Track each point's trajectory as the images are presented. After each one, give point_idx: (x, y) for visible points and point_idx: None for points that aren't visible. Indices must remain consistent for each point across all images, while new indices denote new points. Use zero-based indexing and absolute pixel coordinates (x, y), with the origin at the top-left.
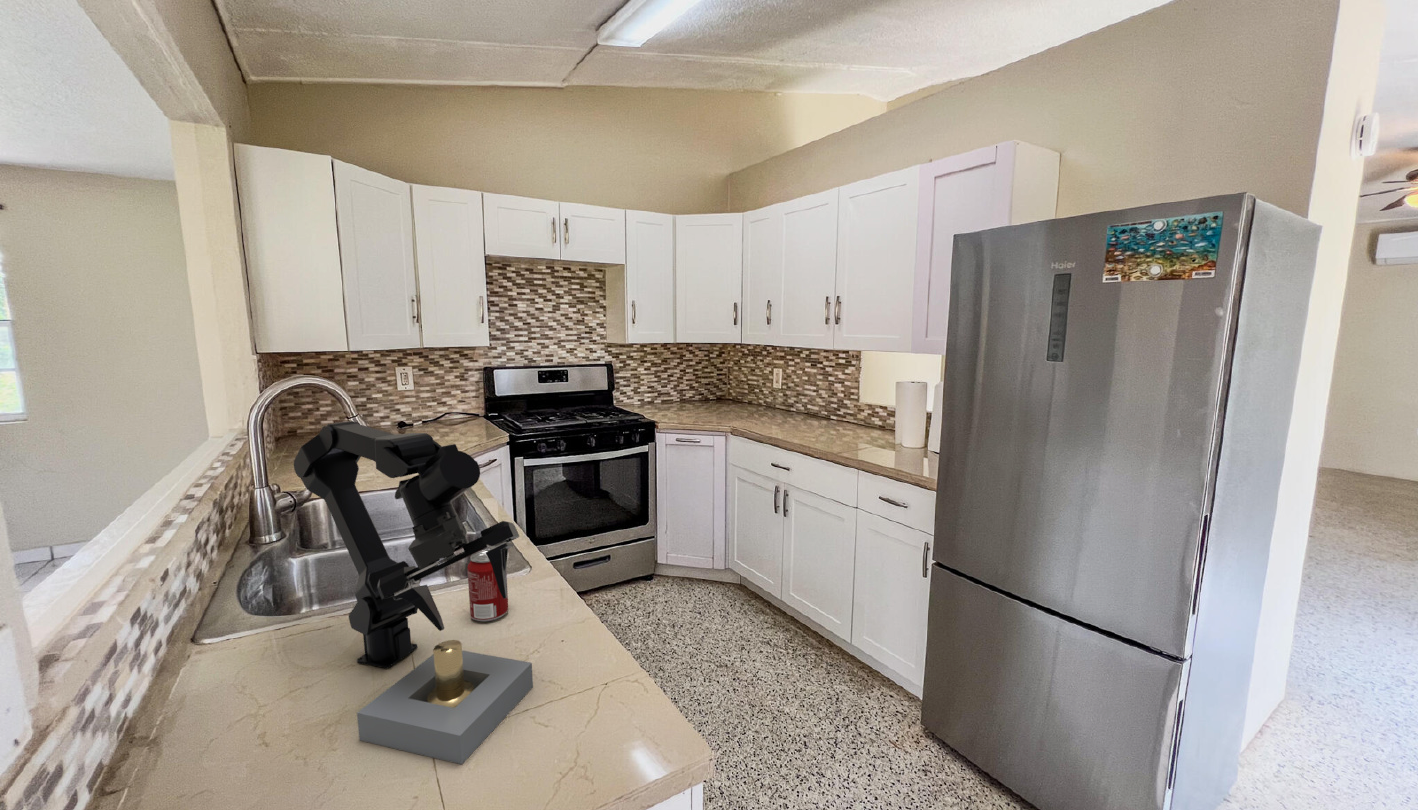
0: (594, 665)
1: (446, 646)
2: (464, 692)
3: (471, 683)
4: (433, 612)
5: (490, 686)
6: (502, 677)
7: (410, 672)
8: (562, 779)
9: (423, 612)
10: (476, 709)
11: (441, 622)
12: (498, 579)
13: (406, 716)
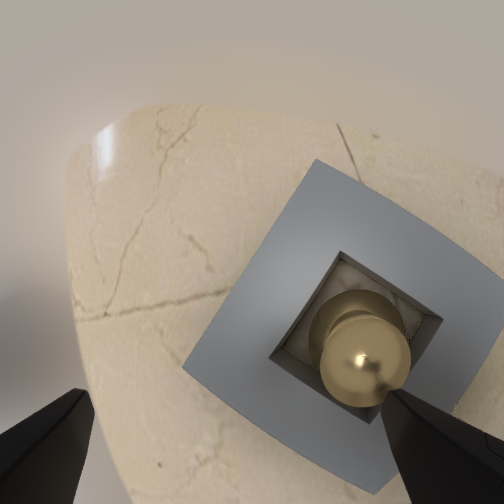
0: (115, 370)
1: (369, 368)
2: (327, 330)
3: (313, 361)
4: (436, 441)
5: (266, 308)
6: (240, 336)
7: None
8: (185, 130)
9: (483, 432)
10: (292, 230)
11: (393, 425)
12: (25, 437)
13: (434, 251)
